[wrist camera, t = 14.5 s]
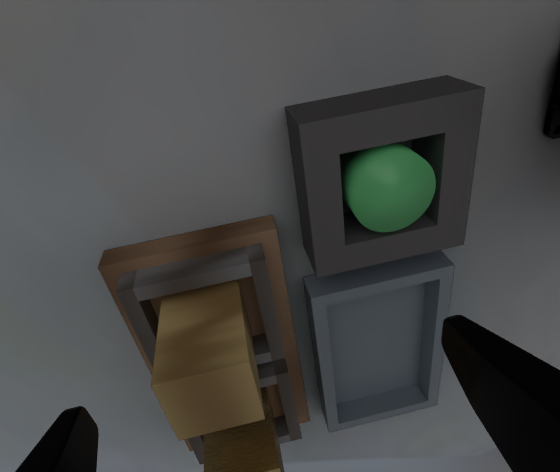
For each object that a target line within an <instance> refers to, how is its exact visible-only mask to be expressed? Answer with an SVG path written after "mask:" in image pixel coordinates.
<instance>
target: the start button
mask: <svg viewBox="0 0 560 472" xmlns="http://www.w3.org/2000/svg"><path fill="white" fill-rule="evenodd" d="M340 169H341V185H342V198H343V199H344V201H345V202H346V203H347V205H348V206H349V208H350V209H351V211H352V212H353V213H354V215H355V216H356V218H357V219H358V220H359V222H360V223H361V224H362V225H363V226H365V227H366V228H368V229H370V230H373V231H377V232H392V231H397V230H400V229H402V228H405V227H407V226H409V225H410V224H412V223H413V222H415V221H416V220H417V219H418V218H419V217H420V216H421V215H422V214H423V213H424V212H425V211H426V209H427V208H428V207H429V205H430V203H431V201H432V199H433V196H434V193H435V188H436V179H435V174H434V171H433V169H432V167H431V165H430V164H429V163H428V162H427V161H426V160H425V159H423V158H422V157H421V156H419V155H418V154H417V153H415V152H414V151H413V150H411V149H410V148H408V147H407V146H406V145H404V144H403V143H402V142H397V143H392V144H387V145H382V146H377V147H372V148H368V149H363V150H358V151H353V152H348V153H344V154H343V156H342V157H341V159H340Z"/></svg>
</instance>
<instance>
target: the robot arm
mask: <svg viewBox="0 0 560 472" xmlns="http://www.w3.org/2000/svg"><path fill="white" fill-rule="evenodd" d="M556 126H557V127H556ZM555 127H556V129H555V130H554V128H555ZM553 130H554V131H553ZM543 133H544V135H545V136H547V137H550V138H552V139H556V138H560V59H559V64H558V68H557V72H556V77H555V81H554V86H553V90H552V94H551V99H550V103H549V108H548V112H547V116H546V121H545V125H544V132H543ZM441 344H442V347H443V350H444V352H445V354H446V356H447V358H448V360H449V362H450V364H451V366H452V368H453V370H454V372H455V374H456V376H457V378H458V380H459V382H460V384H461V386H462V388H463V390H464V393H465V395H466V397H467V398H468V400H469V402H470V404H471V406H472V408H473V409H474V411H475V413H476V414H477V416H478V417H479V419H480V421H481V422H482V424H483V425H484V427H485V429H486V430H487V432H488V433H489V435H490V437H491V438H492V440H493V441H494V443H495V444H496V446H497V448H498V449H499V451H500V452H501V454H502V456H503V457H504V459H505V460H506V462H507V464H508V465H509V467H510V468H511V470H512V471H513V472H560V370H558V369H557V368H555V367H553V366H551V365H550V364H548V363H546V362H544V361H542V360H541V359H539V358H537V357H535V356H534V355H532V354H530V353H528V352H526V351H525V350H523V349H521V348H519V347H518V346H516V345H514V344H512V343H510V342H509V341H507V340H505V339H503V338H502V337H500V336H498V335H496V334H494V333H493V332H491V331H489V330H487V329H486V328H484V327H482V326H480V325H479V324H477V323H475V322H473V321H471V320H470V319H468V318H466V317H464V316H462V315H455V316H451V317H447V318H445V319H444V320H443V327H442V335H441ZM97 451H98V427H97V425H96V423H95V422H94V420H93V419H92V417H91V416H90V414H89V413H88V411H87V410H86V409H85V408H84V407H82V406H78V407H74V408H70V409H67V410H65V411H63V412H62V413H61V414H60V415H59V417H58V418H57V419H56V421H55V422H54V423H53V424H52V426H51V427H50V428H49V429H48V431H47V432H46V433H45V435H44V436H43V437H42V438H41V440H40V441H39V442H38V443H37V445H36V446H35V447H34V449H33V450H32V451H31V452H30V454H29V455H28V456H27V457H26V459H25V460H24V461H23V463H22V464H21V465H20V466H19V468H18V469H17V470H16V471H15V472H96V467H97Z"/></svg>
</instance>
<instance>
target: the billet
mask: <svg viewBox="0 0 560 472" xmlns="http://www.w3.org/2000/svg"><path fill="white" fill-rule="evenodd" d="M260 389H261V396H262V402H263V408H264V415H265V419H263V420H259V421H255V422H251V423H248V424H244V425H240V426H236V427H232V428H228V429H224V430H220V431H216V432H212V433H208V434H204V472H284V467H283V462H282V456H281V450H280V445H279V439H278V434H277V428H276V423H275V417H274V411H273V407H272V404H271V400H270V396H269V393H268V389H267V386H266V387H262V388H260Z"/></svg>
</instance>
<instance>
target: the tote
mask: <svg viewBox="0 0 560 472" xmlns="http://www.w3.org/2000/svg"><path fill="white" fill-rule="evenodd" d="M454 267H455V265H454V264H453V263H452V262H451V261H450V260H449V259H448V258H447V256H446V255H445V254H444V253H443V252H442V251H441V250H437V251H433V252H429V253H424V254H420V255H415V256H411V257H407V258H402V259H398V260H394V261H389V262H385V263H380V264H376V265H372V266H367V267H363V268H359V269H354V270H350V271H345V272H341V273H337V274H332V275H328V276H324V277H319V278H317V277H316V274H314V275H310V276H305V277H303V280H304V287H305V294H306V301H307V308H308V315H309V322H310V329H311V336H312V343H313V350H314V357H315V364H316V371H317V378H318V385H319V392H320V399H321V406H322V411H323V414H324V418H325V421H326V424H327V428H328V431H329V433H330V432H334V431H338V430H342V429H346V428H350V427H353V426H357V425H361V424H365V423H369V422H373V421H377V420H381V419H385V418H388V417H392V416H396V415H400V414H404V413H408V412H412V411H416V410H419V409H423V408H427V407H431V406H435V405H437V402H438V394H439V387H440V379H441V371H442V363H443V355H444V350H443V347H442V344H441V335H442V327H443V320H444V319H445V318H447V317H448V315H449V307H450V299H451V291H452V283H453V275H454Z"/></svg>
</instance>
